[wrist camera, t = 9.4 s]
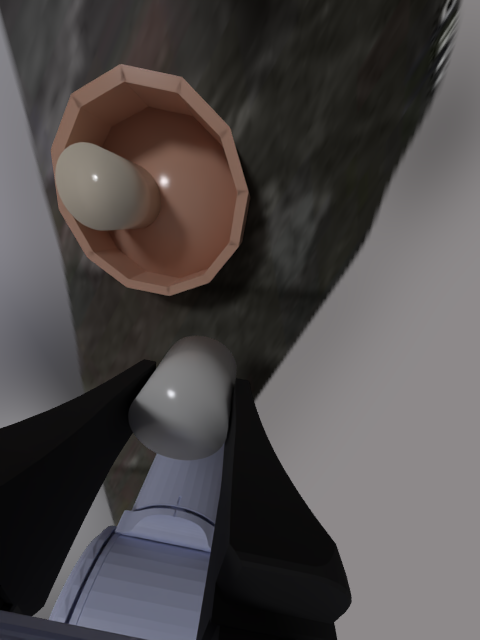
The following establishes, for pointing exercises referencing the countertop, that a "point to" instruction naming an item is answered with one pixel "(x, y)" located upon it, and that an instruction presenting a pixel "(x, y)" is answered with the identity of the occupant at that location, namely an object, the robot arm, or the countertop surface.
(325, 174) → the countertop surface
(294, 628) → the robot arm
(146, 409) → the pebble
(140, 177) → the pebble
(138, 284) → the bowl
